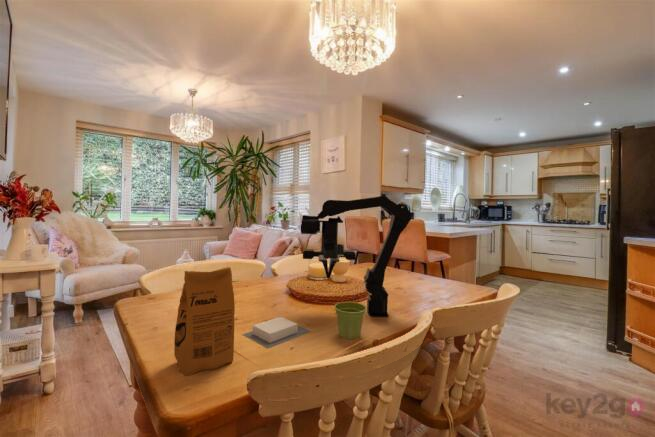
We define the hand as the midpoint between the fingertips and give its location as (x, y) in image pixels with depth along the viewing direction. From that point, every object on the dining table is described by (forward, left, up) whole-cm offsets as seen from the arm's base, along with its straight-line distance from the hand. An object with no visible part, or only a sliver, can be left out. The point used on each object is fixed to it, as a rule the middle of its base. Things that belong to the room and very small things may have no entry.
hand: (328, 278), depth 108 cm
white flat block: (+13, +17, -10) cm, 24 cm away
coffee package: (+31, +36, -12) cm, 49 cm away
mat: (+16, +20, -12) cm, 28 cm away
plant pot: (-5, +21, -12) cm, 25 cm away
